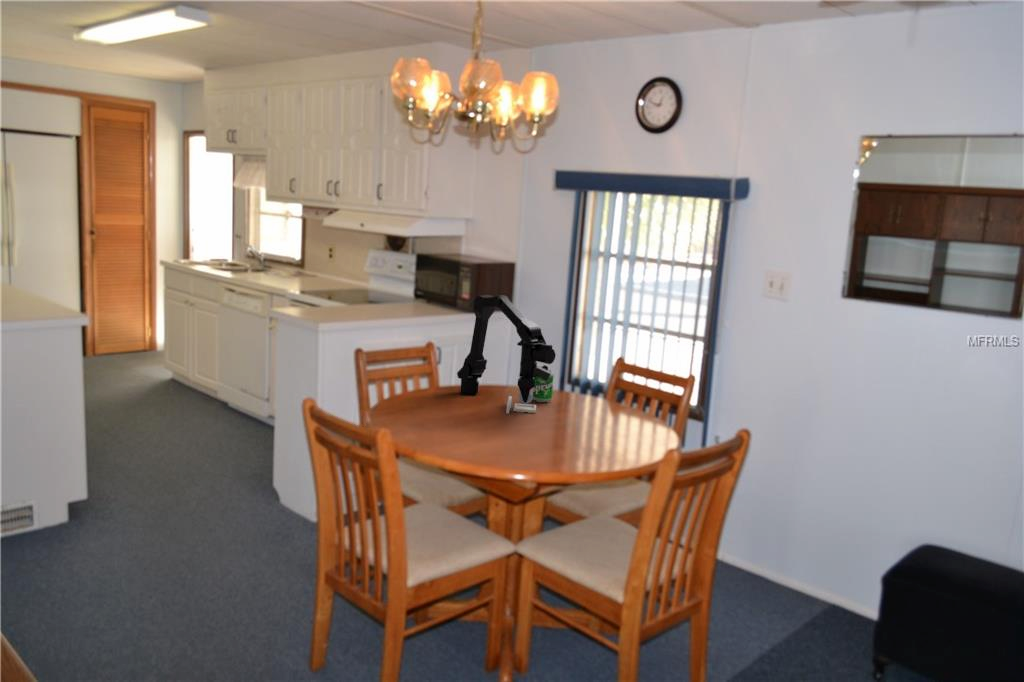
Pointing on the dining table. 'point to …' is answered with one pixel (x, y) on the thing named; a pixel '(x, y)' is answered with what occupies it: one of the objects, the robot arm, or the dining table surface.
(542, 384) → the soda can
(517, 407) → the coaster
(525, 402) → the ball
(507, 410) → the wall
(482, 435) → the dining table surface
